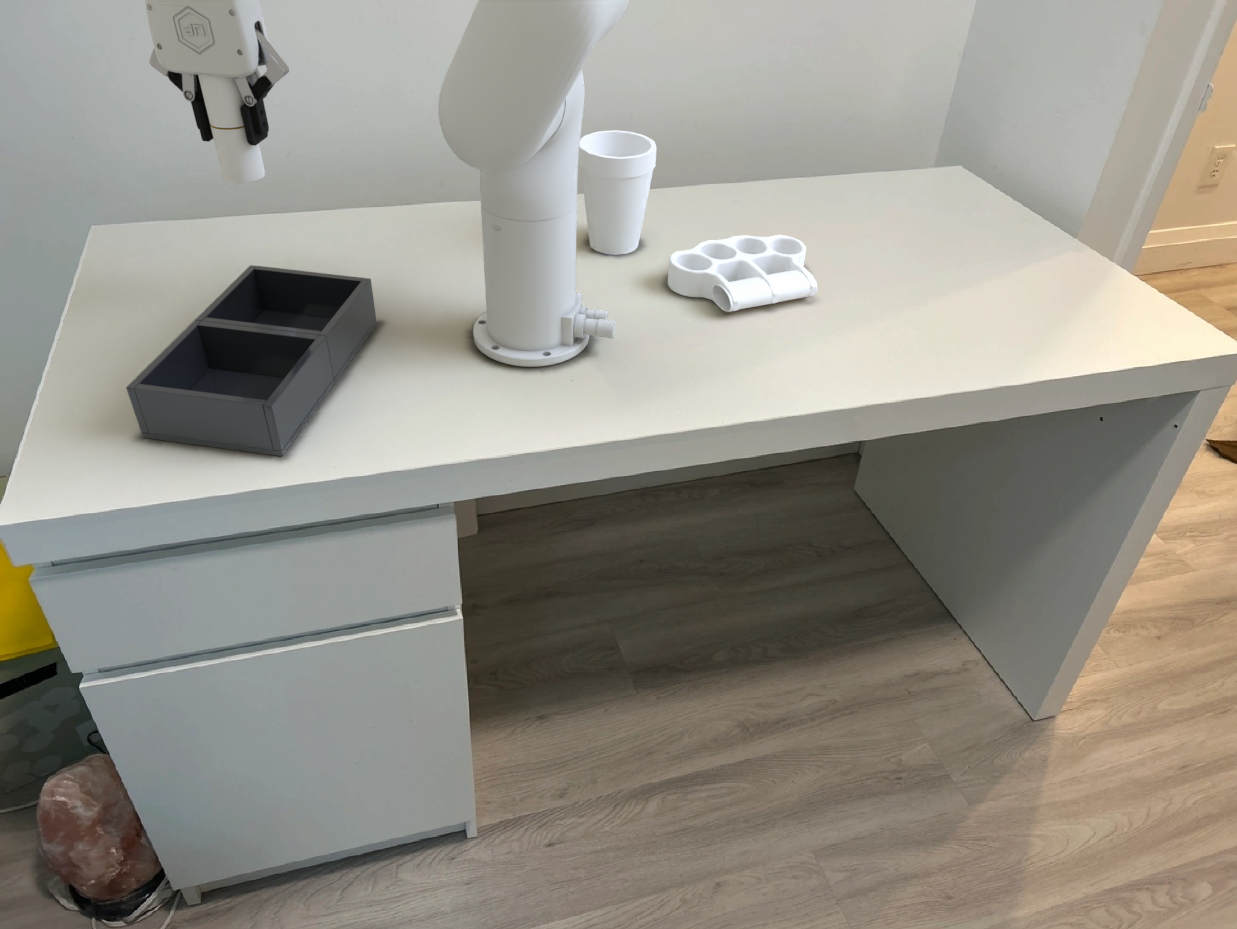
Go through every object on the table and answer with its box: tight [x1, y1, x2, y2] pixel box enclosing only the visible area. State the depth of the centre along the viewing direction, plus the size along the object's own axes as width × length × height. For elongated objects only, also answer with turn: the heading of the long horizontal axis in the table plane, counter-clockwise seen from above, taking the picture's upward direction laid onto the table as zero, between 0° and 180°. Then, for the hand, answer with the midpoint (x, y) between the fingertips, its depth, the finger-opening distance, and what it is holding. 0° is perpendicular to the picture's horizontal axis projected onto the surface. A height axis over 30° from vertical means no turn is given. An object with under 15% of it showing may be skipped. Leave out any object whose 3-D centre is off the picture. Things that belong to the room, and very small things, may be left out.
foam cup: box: [578, 129, 658, 256], centre depth 120 cm, size 10×9×13 cm
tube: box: [198, 75, 266, 184], centre depth 97 cm, size 4×4×15 cm
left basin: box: [125, 320, 335, 457], centre depth 91 cm, size 14×12×6 cm
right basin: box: [194, 265, 378, 385], centre depth 100 cm, size 14×12×6 cm
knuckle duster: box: [667, 234, 819, 313], centre depth 116 cm, size 3×18×15 cm
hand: (235, 137), depth 99 cm, fingers closed on tube, 4 cm apart
